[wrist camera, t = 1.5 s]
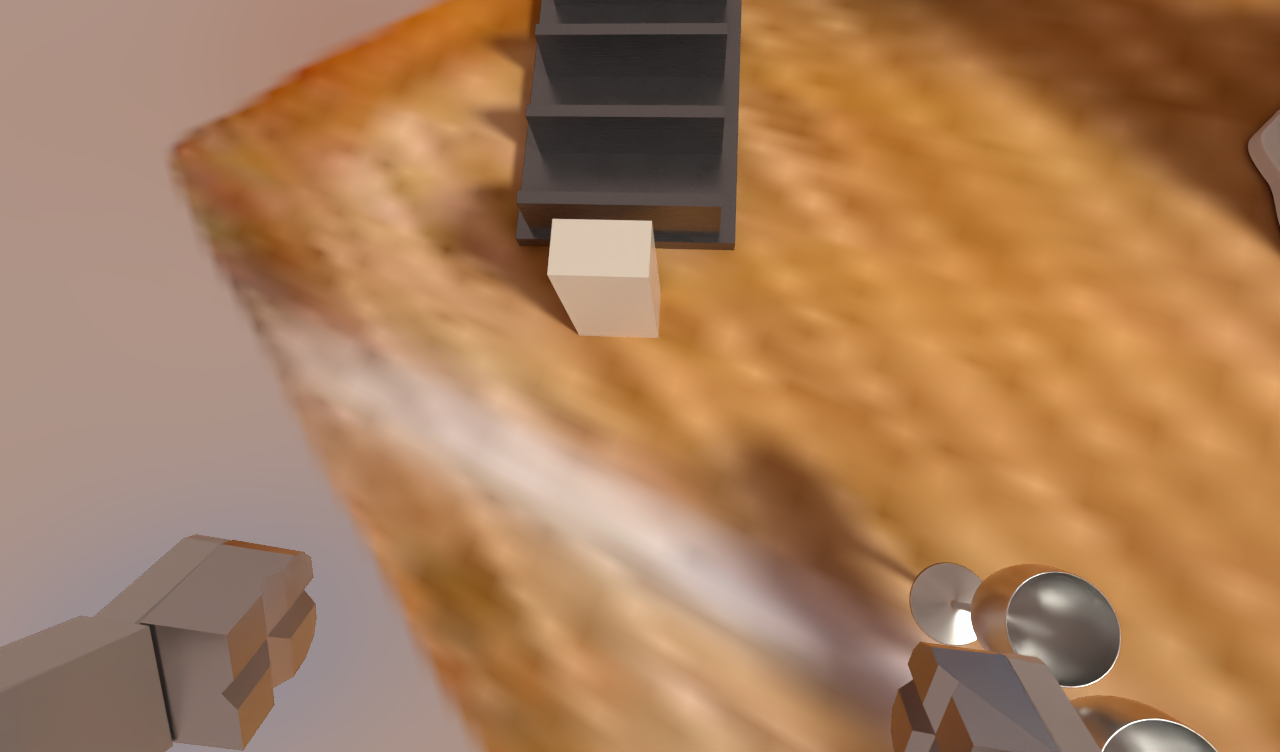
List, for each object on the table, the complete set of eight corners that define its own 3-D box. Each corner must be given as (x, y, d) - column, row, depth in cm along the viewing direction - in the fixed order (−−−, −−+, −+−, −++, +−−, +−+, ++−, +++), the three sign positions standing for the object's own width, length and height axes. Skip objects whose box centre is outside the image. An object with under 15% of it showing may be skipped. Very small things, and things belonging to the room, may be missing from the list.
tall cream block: (582, 290, 44) (552, 219, 34) (660, 292, 44) (651, 220, 34) (579, 335, 43) (547, 274, 34) (658, 337, 43) (648, 277, 33)
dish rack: (545, 2, 50) (529, -57, 45) (740, 0, 49) (746, -60, 44) (519, 245, 45) (498, 208, 40) (733, 249, 44) (739, 213, 39)
